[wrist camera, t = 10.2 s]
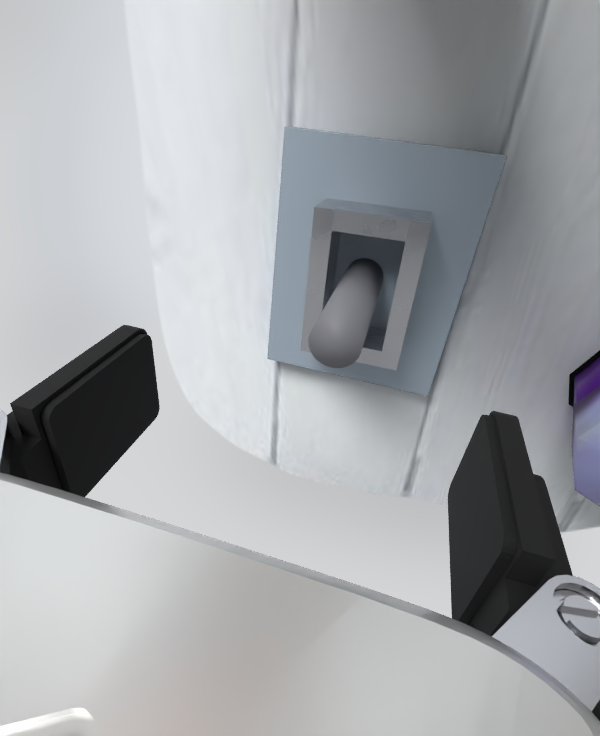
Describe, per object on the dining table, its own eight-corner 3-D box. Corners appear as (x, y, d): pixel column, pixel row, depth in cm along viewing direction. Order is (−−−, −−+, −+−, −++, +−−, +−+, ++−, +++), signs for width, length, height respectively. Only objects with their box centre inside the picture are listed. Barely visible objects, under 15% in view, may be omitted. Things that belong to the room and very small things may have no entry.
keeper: (292, 127, 23) (206, 126, 14) (502, 154, 21) (555, 174, 12) (274, 349, 30) (209, 440, 21) (427, 384, 28) (426, 500, 19)
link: (326, 197, 23) (314, 206, 20) (431, 211, 22) (431, 222, 19) (312, 329, 27) (300, 350, 24) (399, 346, 26) (396, 370, 23)
